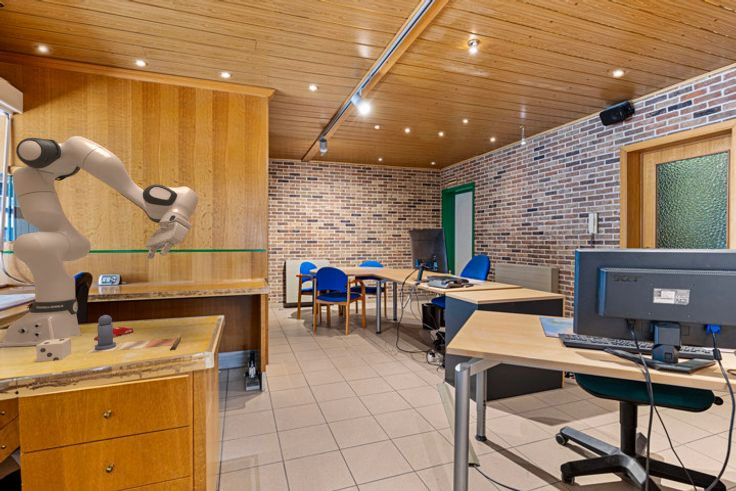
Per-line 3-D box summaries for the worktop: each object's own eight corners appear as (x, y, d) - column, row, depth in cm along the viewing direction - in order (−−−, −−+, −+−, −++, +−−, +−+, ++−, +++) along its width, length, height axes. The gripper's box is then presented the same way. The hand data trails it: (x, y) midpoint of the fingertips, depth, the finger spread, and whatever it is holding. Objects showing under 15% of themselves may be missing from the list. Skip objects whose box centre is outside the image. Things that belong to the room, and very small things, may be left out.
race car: (100, 345, 123) (100, 334, 123) (89, 344, 125) (89, 332, 124) (136, 335, 135) (136, 325, 135) (126, 334, 137) (126, 324, 137)
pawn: (91, 351, 112) (91, 317, 112) (98, 346, 117) (97, 314, 117) (112, 349, 114) (112, 316, 114) (118, 344, 119) (117, 312, 119)
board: (79, 358, 108) (79, 354, 108) (93, 347, 120) (93, 344, 120) (175, 349, 117) (175, 346, 117) (180, 339, 129) (180, 336, 129)
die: (36, 366, 102) (36, 345, 102) (47, 359, 108) (46, 339, 108) (62, 363, 104) (62, 343, 104) (71, 357, 110) (71, 337, 110)
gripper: (151, 225, 138) (134, 256, 131) (179, 214, 127) (161, 248, 120) (166, 233, 142) (150, 264, 136) (194, 224, 131) (178, 257, 124)
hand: (156, 256), depth 128 cm, fingers open, 8 cm apart
